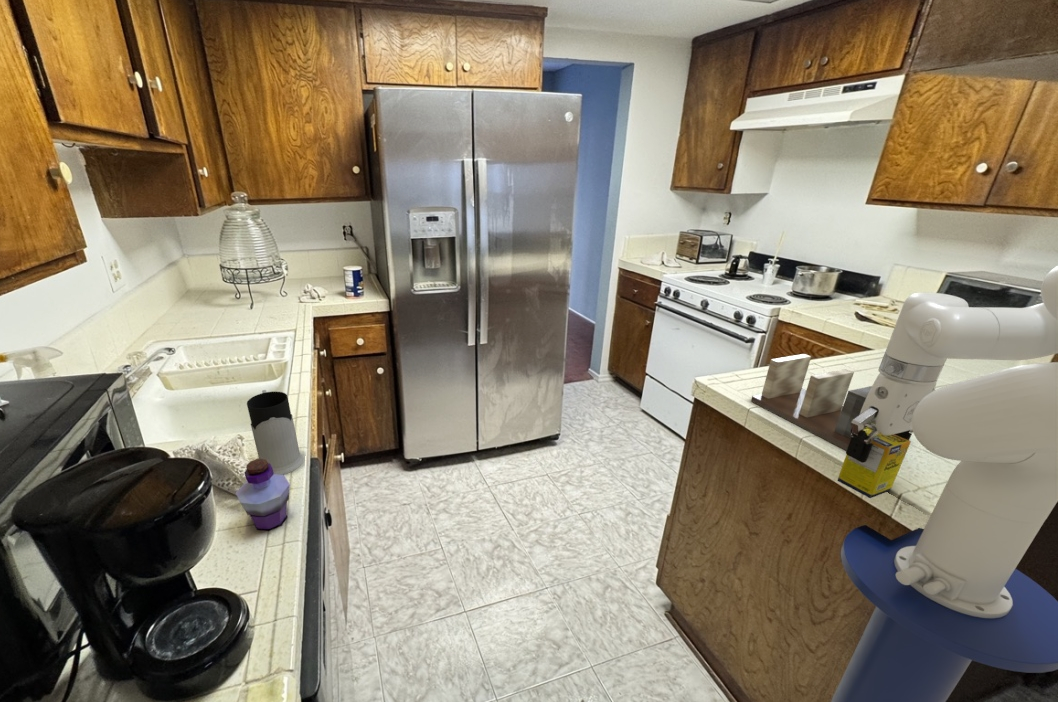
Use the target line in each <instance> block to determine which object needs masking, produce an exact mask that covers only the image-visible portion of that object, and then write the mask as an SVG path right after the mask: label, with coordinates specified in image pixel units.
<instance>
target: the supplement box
mask: <svg viewBox="0 0 1058 702" xmlns="http://www.w3.org/2000/svg"><path fill="white" fill-rule="evenodd" d="M875 427H876V426H875ZM864 431H865V432H866V434H867V435H869V434H870V433H871V432H872V430H870V429H865V430H864ZM871 443H872V444H873V446H872V448H871V451H870V453H869V456H868V458H867V461H866V462H864V463H861V462H860V461H858V460H856V459H854V458H852V457H850V456H848V455H847V454H845V457H844V461H843V463H842V466H841V469H840V472H839V474H838V477H837V482H838V483H841V484H842V485H845V486H846V487H848V488H850V489H852V490H854V491H856V492H857V493H859V494H861V495H863V496H865V497H866V498H868V499H872V498H875V497H878V496H880V495H882V494H885V493H888V492H890V491H892V487H893V485H894V483H895V480H896V478H897V476H898V474H899V471H900V469H901V466H902V464H903V461H904V459H905V457H906V454H907V452H908V450H909V447H910V445H911V440H910V439H909V440H906V439H904V438H902V437H899V436H897V435H894V434H893V435H887V436H885V435H882V434H881V433H879V434H878V435H877V436H876V437H875V438H874V439H873V440H872V441H871Z"/></svg>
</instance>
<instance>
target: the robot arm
mask: <svg viewBox="0 0 1058 702" xmlns="http://www.w3.org/2000/svg"><path fill="white" fill-rule="evenodd" d="M1040 297H1041V301H1042V302H1041V303H1038V304H1035V305H1030V306H1026V307H986V306H985V307H983V306H981V307H979V306H978V307H977V306H976V307H975V306H973V307H972V306H969V303H968V301H966V300H965V299H964V298H962V297H959V296H957V295H951V294H946V293H940V292H926V291H925V292H915V293H912V294H910V295H909V296H907V298H906V299H905V300H904V302H903V304H902V307H901V309H900V312H899V314H898V317H897V320H896V323H895V325H894V328H893V330H892V333H891V336H890V337H889V338H890V339H889V341H888V343H887V346H886V349H885V352H884V354H883V356H882V359H881V362H880V363H879V367H878V370H877V371H878V373H879V374H878V375H877V376H876V378H875V380H874V382H873V384H872V385H871V386H872V387H871V389H870V391H869V393H868V395H867V397H866V400H865V402H864V404H863V407H862V409H861V412H860V415H859V416H858V417H856V418H855V419H853V420H852V422H851V436H852V438H851V440H850V443H849V446H848V448H847V451H846V450H845V455H848V456H850V457H852V458H854V459H856V460H858V461H860V462H861V463H864V462H866V461H867V458H868V456H869V453H870V451H871V448H872V446H873V444H872V443H871V441H872V440H873V439H874V438H875V437H876V436H877V435H878V434H879V433H881V434H882V435H885V436H887V435H893V434H894V435H897V436H899V437H902V438H904V439H906V440H909V441H910V440H911V437H912V434H913V435H914V437H915V438H916V440H917V441H918V442H919V444H920V445H921V446H922V447H923V448H925V449H926V450H927V451H929V452H930V453H931V454H934V455H936V456H938V457H941V458H943V459H946V460H951V461H958V464H957V465H956V466H955V467H954V469H953V470H952V472H951V473H950V475H949V477H948V479H947V481H946V483H945V485H944V487H943V489H942V492H941V494H940V496H939V498H938V500H937V502H936V503H935V506H934V508H933V510H932V512H931V513H930V516H929V518H928V520H927V521H926V524H925V526H924V528H923V529H924V530H923V532H922V535H921V537H920V539H919V541H918V543H917V545H916V546H909V547H904V548H902V549H900V550H899V551H898V552H897V554H896V556H895V559H894V563H895V567H896V569H897V571H898V572H896V574H895V575H896V578H897V580H898V581H899V582H900V583H901V584H904V585H911V586H912V587H913V588H914V589H916V590H917V591H918V592H920V593H921V594H923V595H924V596H926V597H927V598H929V599H931V600H933V601H935V602H936V603H938V604H940V605H943V606H945V607H947V608H949V609H952V610H954V611H957V612H960V613H963V614H967V615H970V616H975V617H981V618H1000V617H1003V616H1005V615H1007V613H1008V612H1009V611H1010V609H1011V608H1012V605H1013V601H1012V598H1011V595H1010V593H1009V592H1008V591H1007V589H1006V588H1005V587H1004V586H1005V584H1006V583H1007V581H1008V580H1009V578H1010V576H1011V575H1012V573H1013V571H1014V570H1015V569H1017V567H1018V565H1019V563H1020V562H1021V560H1022V559H1023V557H1024V555H1025V554H1026V552H1027V550H1028V549H1029V547H1030V546H1031V544H1032V542H1033V541H1034V539H1035V537H1036V536H1037V535H1038V533H1039V531H1040V529H1041V527H1042V526H1043V525H1044V523H1045V522H1046V520H1047V519H1048V517H1049V516H1050V514H1051V512H1052V511H1053V509H1054V508H1055V507H1056V504H1057V503H1058V361H1055V362H1051V361H1050V362H1038V363H1029V364H1022V365H1017V366H1012V367H1008V368H1004V369H1000V370H997V371H993V372H991V373H987V374H986V373H985V374H982V375H979V376H976V377H972V378H969V379H965V380H962V381H957V382H955V383H951V384H948V385H945V386H941V387H939V388H936V386H937V382H938V379H939V377H940V375H941V373H942V370H943V369H944V366H945V364H946V361H947V360H988V361H989V360H991V361H1027V360H1034V359H1040V358H1044V357H1049V356H1053V355H1057V354H1058V265H1056V266H1054V267H1053V268H1052V269H1051V270H1049V271H1048V273H1047V274H1046V275H1045V276H1044V278H1043V280H1042V282H1041V286H1040ZM869 423H874V424H876V427H875V426H873V425H870V424H869ZM865 428H868V429H870V430H872V432H871V433H870V434H869V435H867V434H866V432H865V431H864V429H865Z"/></svg>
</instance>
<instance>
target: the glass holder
mask: <svg viewBox="0 0 1058 702" xmlns="http://www.w3.org/2000/svg"><path fill="white" fill-rule="evenodd" d="M261 392H262V393H259V394H256V395H254V396H252V397H251V398H249V399H248V400H247V401H246V407H247V410H248V415H249V419H250V428H251V432H252V435H253V440H254V443H255V448H256V452H257V456H258V459H264V460H266V461H267V462H268V463H270V465H271V466H272V468H273V472H274V474H277V475H286V474H289V473H291V472H293V471H296V470H297V469H298V468H299V467H300V466H302V465H303V463H304V457H303V455H302V454H301V452H300V447H299V443H298V437H297V431H296V427H295V423H294V418H293V414H292V412H291V407H290V402H289V397H288V394H287V393H285V392H283V391H277V390H276V391H267V390H266V389H262V391H261Z"/></svg>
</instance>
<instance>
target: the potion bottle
mask: <svg viewBox="0 0 1058 702" xmlns="http://www.w3.org/2000/svg"><path fill="white" fill-rule="evenodd" d="M245 468H246V470H245V471H244V472H243V473H244V478H245V479H246V481H245V482H244V483H243V484H242V485H241V486H240V487H239V488H238V490H237V491H236V492H235V495H236V497H237V499H238V501H239V503H240V505H241V506H242V508H243V510H244V511H245V513H246V515H248V516H249V517H250V518H251V521H252V522H253V525H254V528H255V529H256V531H264V532H270V531H273V530H275V529H277V528H280V527H281V526H283V524H284V523H285V522H286V520H287V519H288V515H287V512H288V511H287V509H288V502H289V500H290V489H291V487H290V486H291V483H290V482H289V481H288V479H287V477H286V476H285V474H283V475H277V474H274V472H273V468H272V466H271V465H270V463H268V462H267V461H266V460H264V459H259V458H256V459H253V460H251V461H249V462H248V463H247V464H246V466H245Z"/></svg>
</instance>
